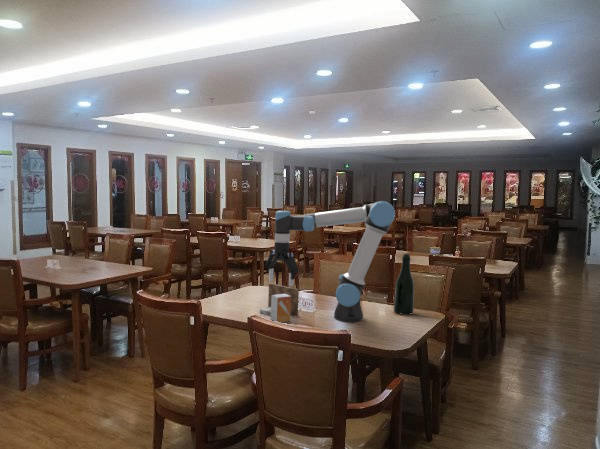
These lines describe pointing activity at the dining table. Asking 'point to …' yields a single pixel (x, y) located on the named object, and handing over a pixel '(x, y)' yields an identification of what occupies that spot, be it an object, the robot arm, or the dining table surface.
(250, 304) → the dining table surface
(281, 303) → the small box
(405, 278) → the beer bottle
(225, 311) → the dining table surface
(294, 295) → the wall board
